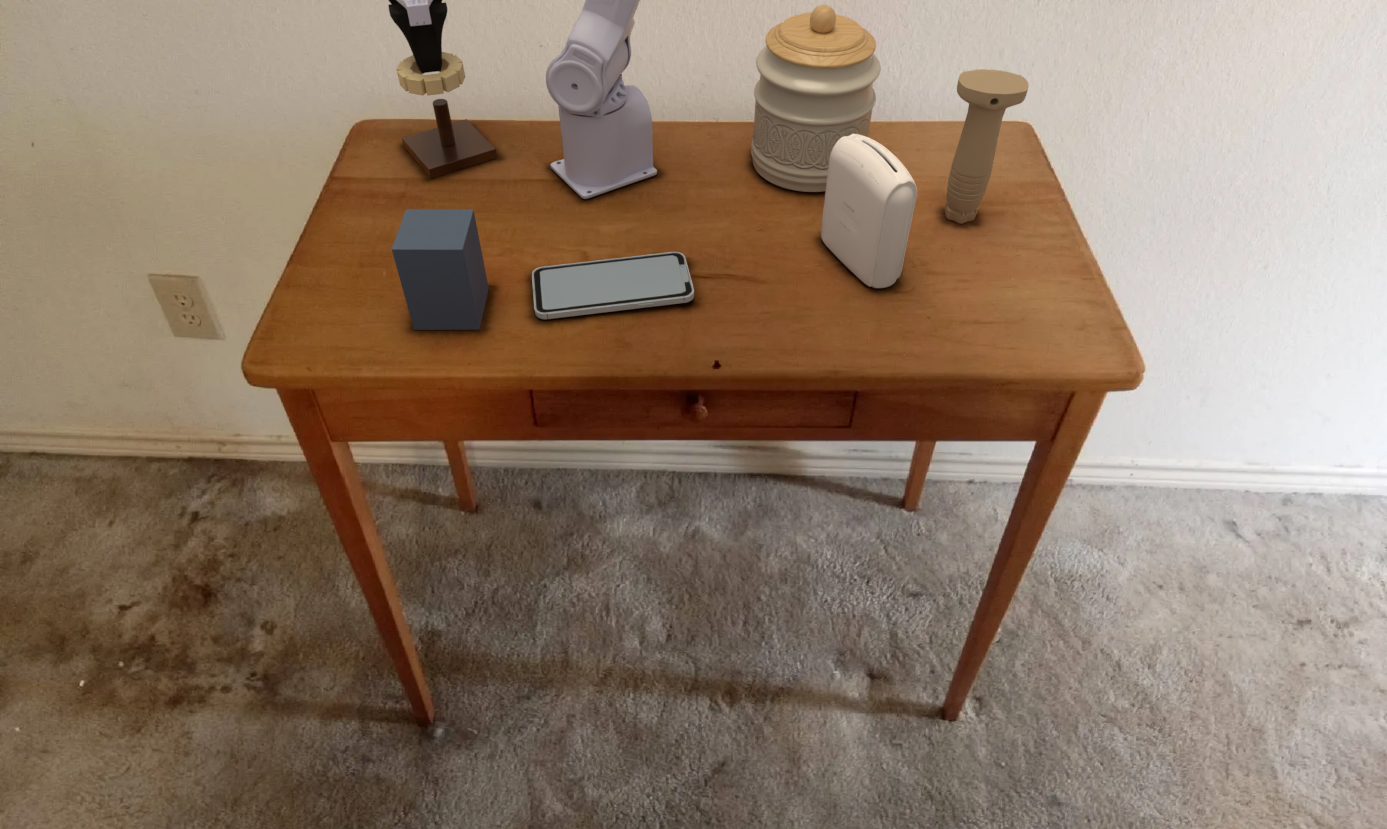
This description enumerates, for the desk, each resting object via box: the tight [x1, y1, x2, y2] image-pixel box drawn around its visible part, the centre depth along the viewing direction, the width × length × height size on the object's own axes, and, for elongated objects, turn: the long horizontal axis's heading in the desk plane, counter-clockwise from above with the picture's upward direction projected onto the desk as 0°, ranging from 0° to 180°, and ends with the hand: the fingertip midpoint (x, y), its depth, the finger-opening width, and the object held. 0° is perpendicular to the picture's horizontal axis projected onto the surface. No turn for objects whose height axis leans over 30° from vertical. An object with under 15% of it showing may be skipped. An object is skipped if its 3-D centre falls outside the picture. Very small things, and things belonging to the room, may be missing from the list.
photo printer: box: [820, 134, 918, 289], centre depth 87 cm, size 10×4×12 cm, turn 26°
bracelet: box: [396, 51, 466, 96], centre depth 96 cm, size 7×7×2 cm
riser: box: [391, 208, 490, 331], centre depth 83 cm, size 6×6×9 cm
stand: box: [401, 98, 498, 179], centre depth 103 cm, size 8×8×6 cm
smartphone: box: [531, 251, 695, 320], centre depth 88 cm, size 7×1×15 cm
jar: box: [750, 4, 882, 193], centre depth 98 cm, size 13×13×18 cm
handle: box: [944, 68, 1030, 225], centre depth 92 cm, size 5×6×15 cm
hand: (430, 65), depth 98 cm, fingers closed on bracelet, 2 cm apart
